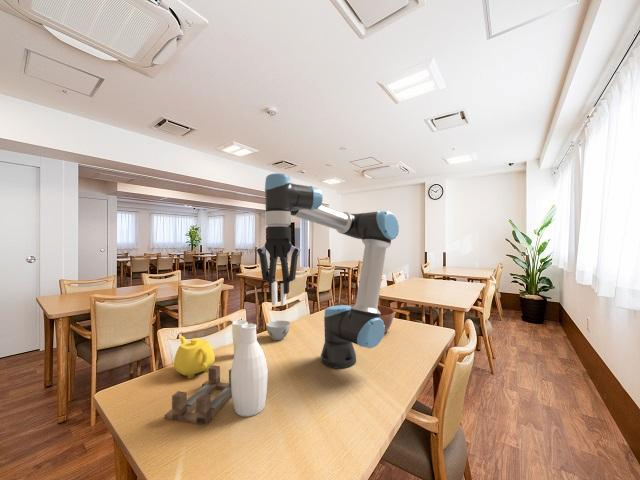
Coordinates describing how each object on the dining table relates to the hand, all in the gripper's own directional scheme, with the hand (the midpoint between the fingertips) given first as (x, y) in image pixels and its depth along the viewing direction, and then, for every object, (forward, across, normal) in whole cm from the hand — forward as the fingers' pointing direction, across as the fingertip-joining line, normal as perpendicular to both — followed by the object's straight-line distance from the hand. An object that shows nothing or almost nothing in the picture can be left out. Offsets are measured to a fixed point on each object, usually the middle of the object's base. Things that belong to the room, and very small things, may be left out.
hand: (279, 304), depth 81 cm
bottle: (+33, +10, 0) cm, 34 cm away
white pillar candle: (+33, +32, -34) cm, 57 cm away
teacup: (+33, +24, -58) cm, 71 cm away
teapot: (+33, +44, -18) cm, 58 cm away
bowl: (+33, -25, -80) cm, 90 cm away
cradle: (+32, +25, 0) cm, 41 cm away
